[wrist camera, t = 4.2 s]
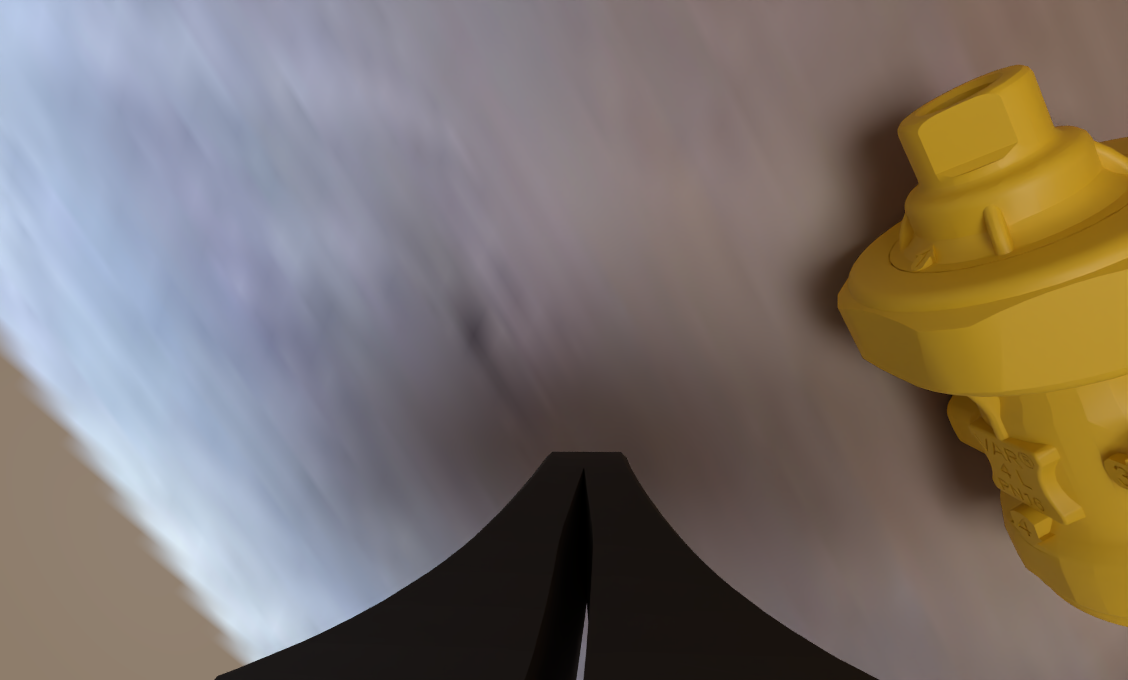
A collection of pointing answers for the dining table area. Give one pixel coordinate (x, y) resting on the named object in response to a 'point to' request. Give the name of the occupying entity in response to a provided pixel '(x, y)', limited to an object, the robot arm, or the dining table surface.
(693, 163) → the dining table surface
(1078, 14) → the dining table surface
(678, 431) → the dining table surface
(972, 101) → the pressure relief valve
